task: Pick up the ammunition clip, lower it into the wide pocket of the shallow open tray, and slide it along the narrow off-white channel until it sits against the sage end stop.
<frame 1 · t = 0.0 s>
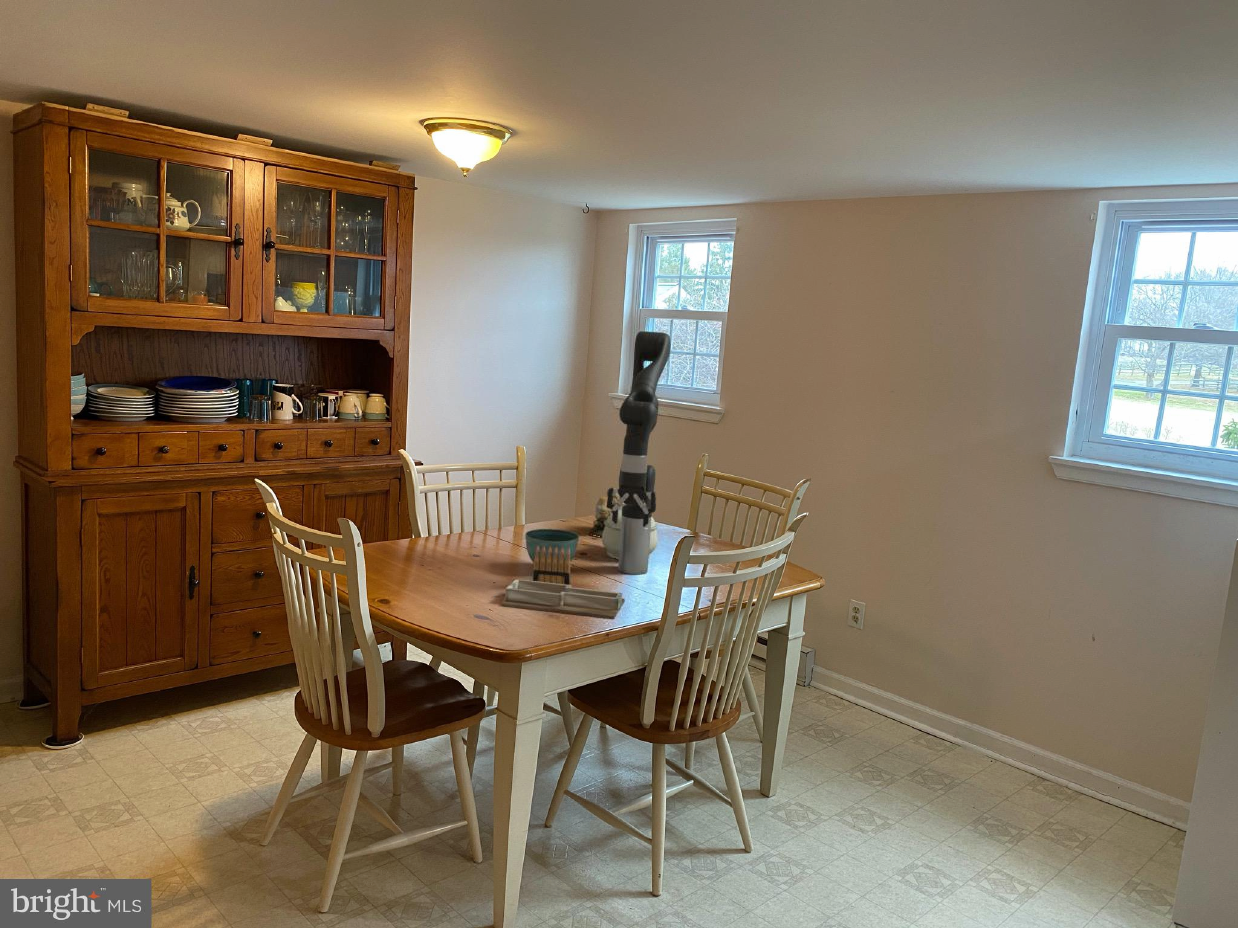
hand: (629, 524, 269), 17 cm above the table, tool pointing down, fingers open, 8 cm apart
shallow open tray: (564, 603, 246), on the table
flower pot: (550, 570, 279), on the table
kettle: (626, 555, 304), on the table
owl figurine: (607, 533, 334), on the table
ammunition clip: (550, 588, 260), on the table
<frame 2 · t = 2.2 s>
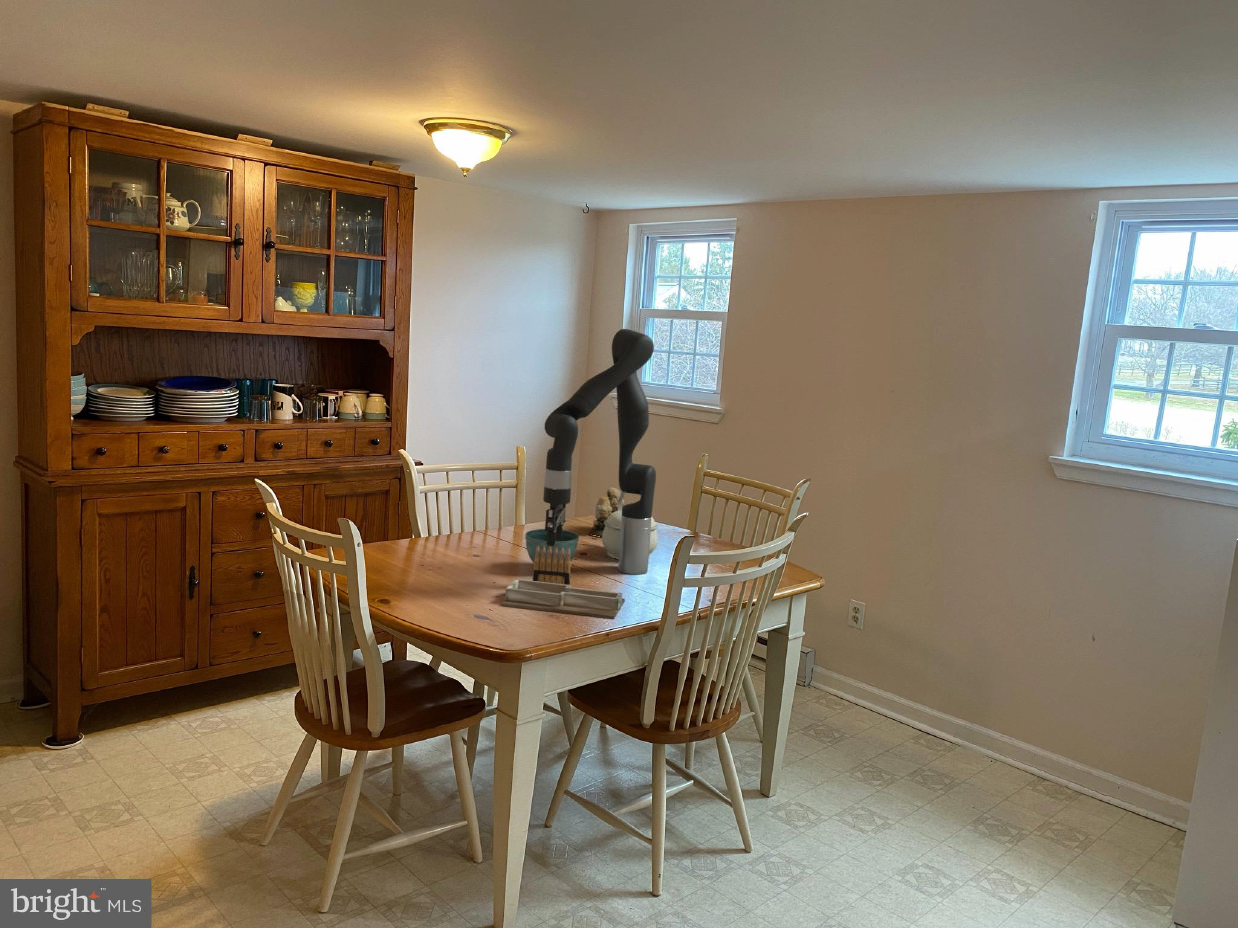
hand: (554, 542, 258), 13 cm above the table, tool pointing down, fingers open, 8 cm apart
nothing on the table moved.
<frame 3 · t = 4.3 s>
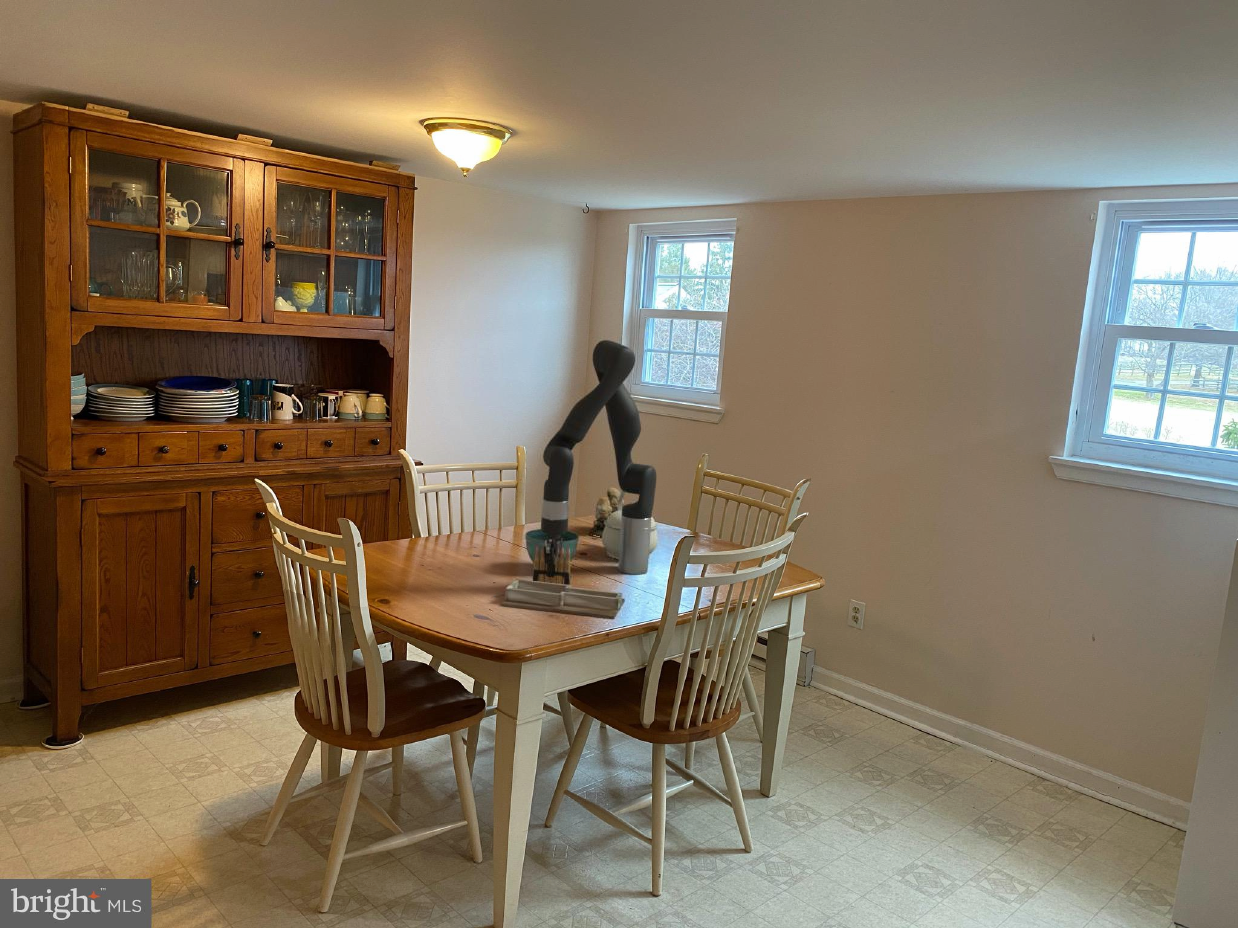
hand: (551, 575, 260), 4 cm above the table, tool pointing down, fingers closed on ammunition clip, 2 cm apart
ammunition clip: (550, 588, 260), on the table, touching gripper
everything else where it was.
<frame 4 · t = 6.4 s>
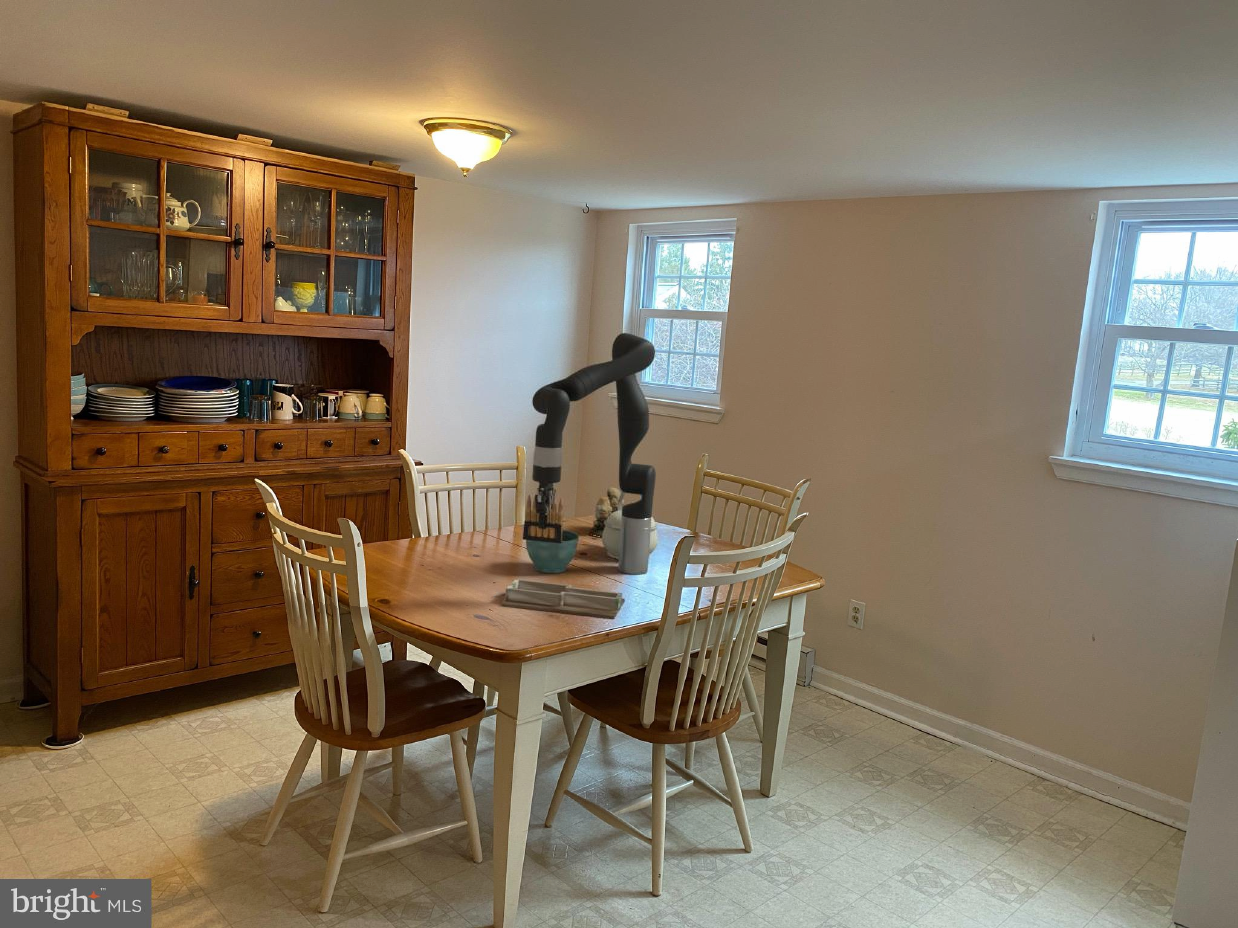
hand: (543, 527, 246), 20 cm above the table, tool pointing down, fingers closed on ammunition clip
ammunition clip: (542, 541, 246), point 16 cm above the table, touching gripper
everything else where it was.
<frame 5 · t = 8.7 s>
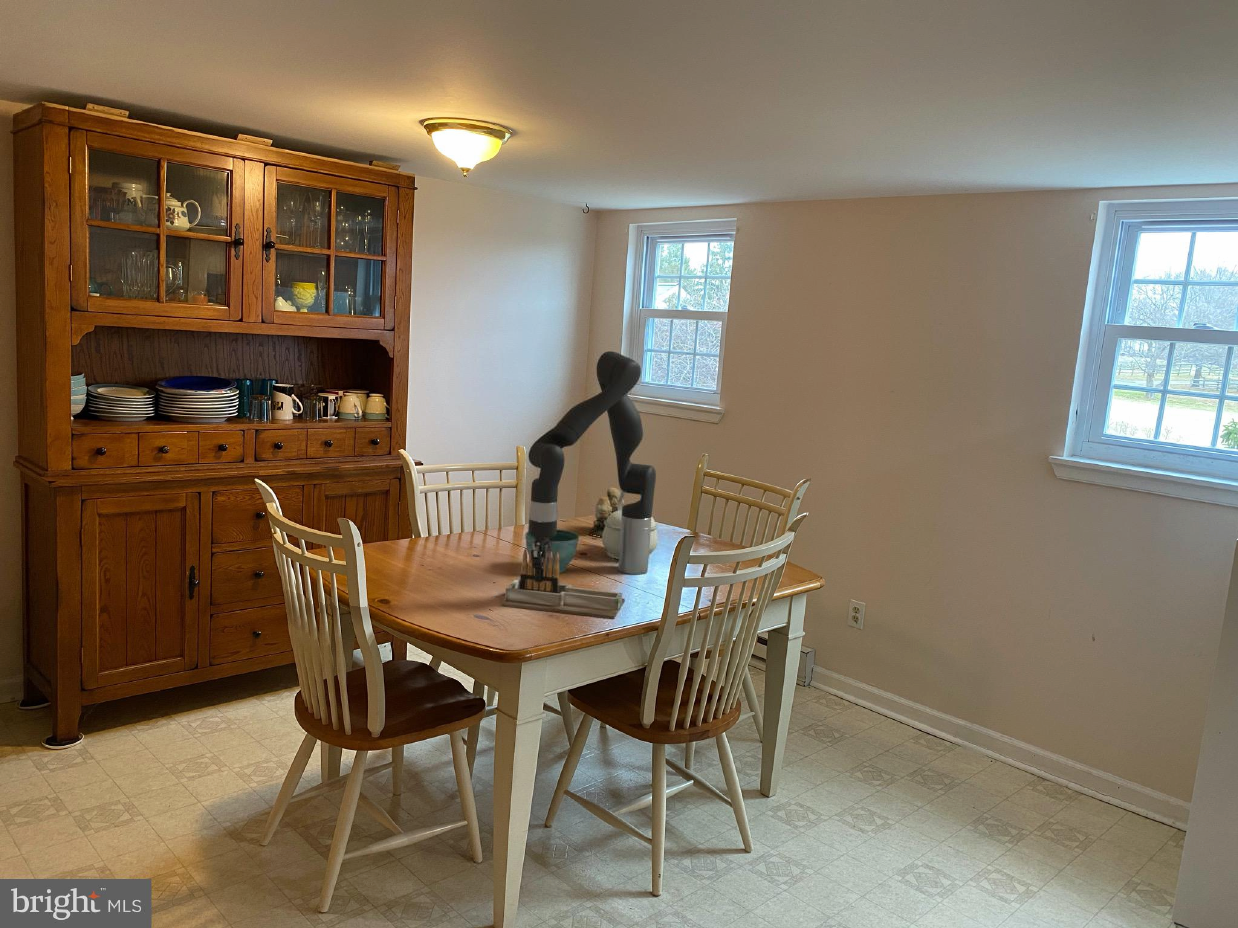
hand: (539, 580, 247), 6 cm above the table, tool pointing down, fingers closed on ammunition clip, 2 cm apart
ammunition clip: (539, 594, 247), point 2 cm above the table, touching gripper
everything else where it was.
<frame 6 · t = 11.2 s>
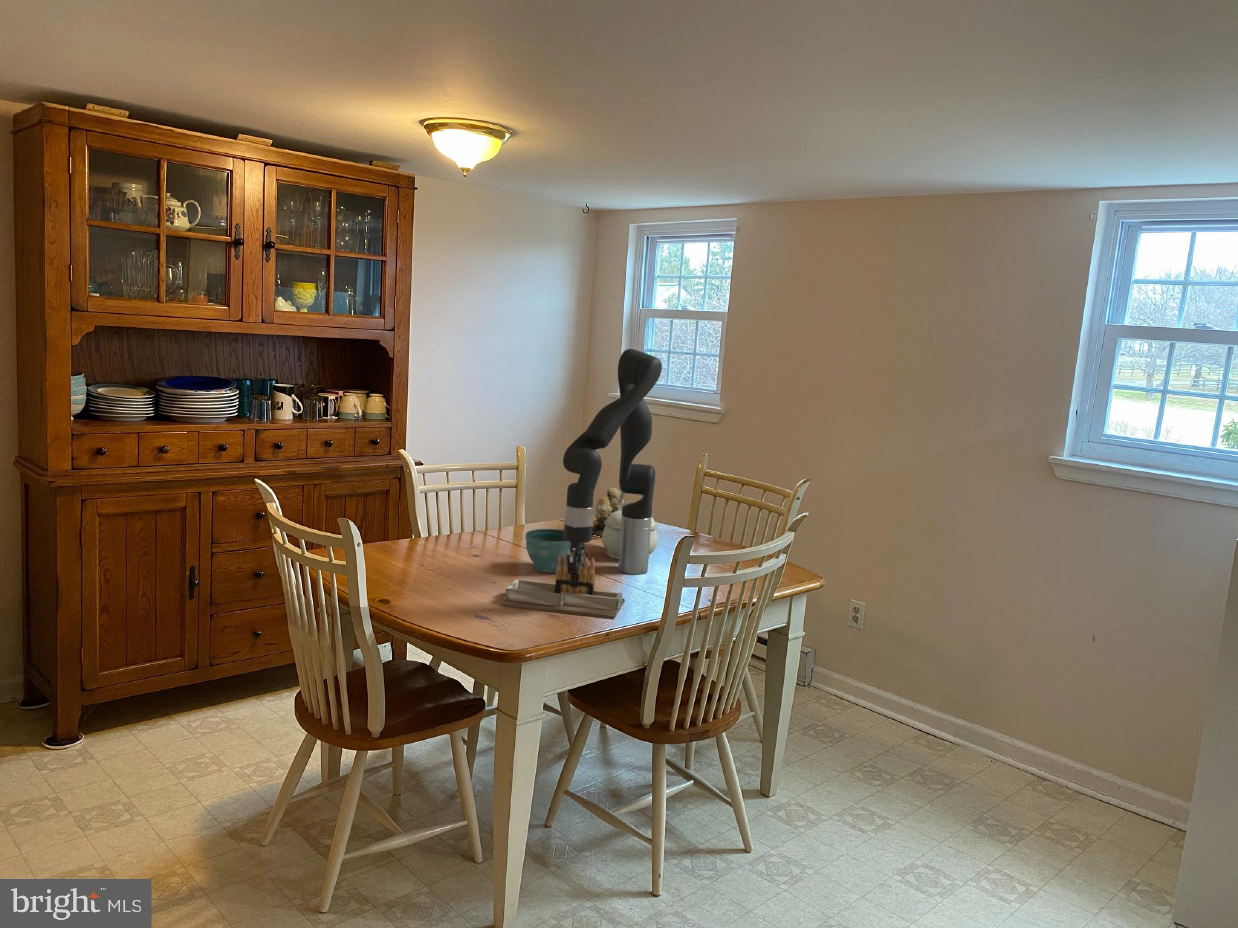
hand: (575, 585, 245), 5 cm above the table, tool pointing down, fingers closed on ammunition clip, 2 cm apart
ammunition clip: (574, 599, 246), point 1 cm above the table, touching gripper
everything else where it was.
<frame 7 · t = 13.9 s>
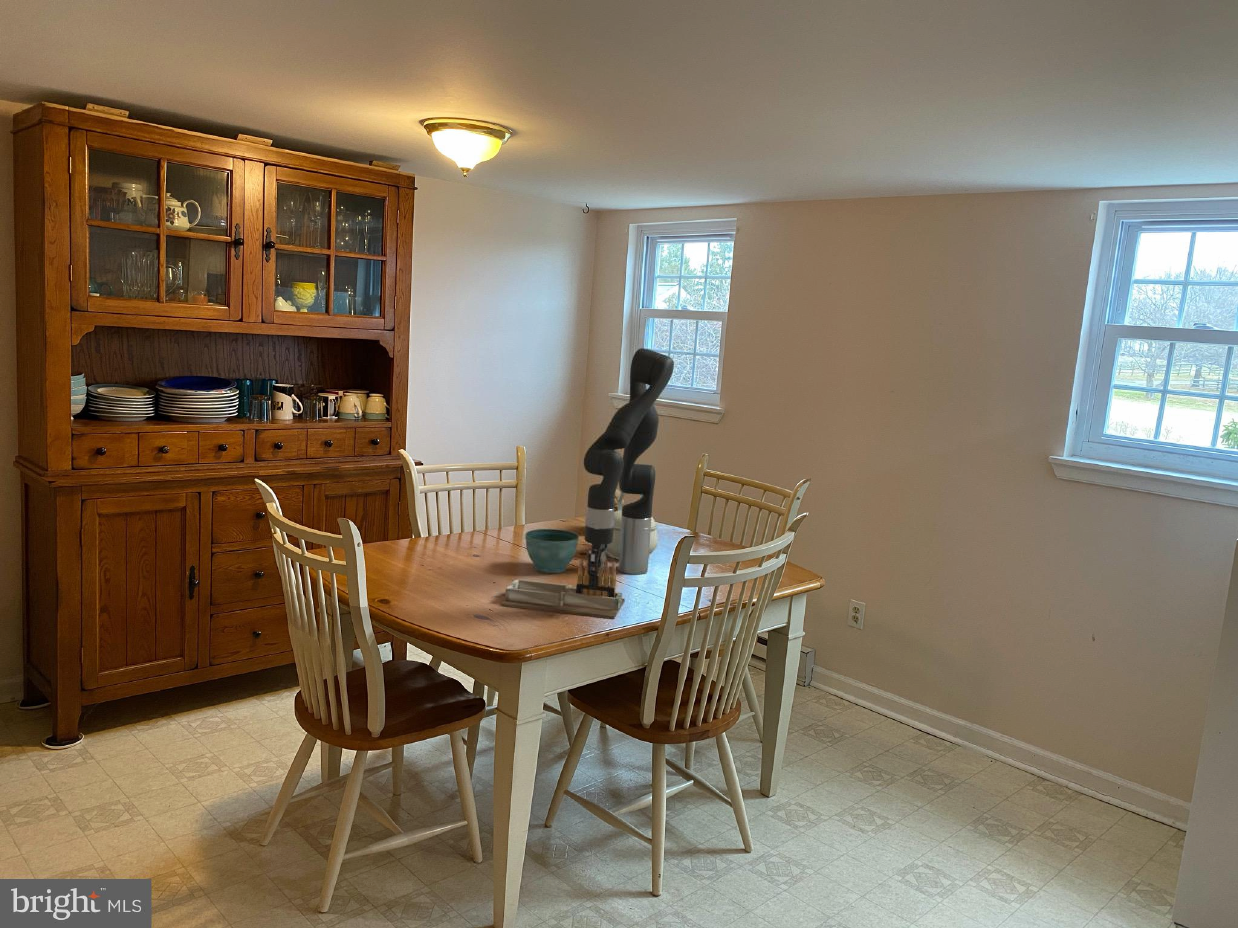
hand: (595, 585, 244), 6 cm above the table, tool pointing down, fingers open, 5 cm apart
ammunition clip: (594, 604, 245), point 1 cm above the table, touching shallow open tray
everything else where it was.
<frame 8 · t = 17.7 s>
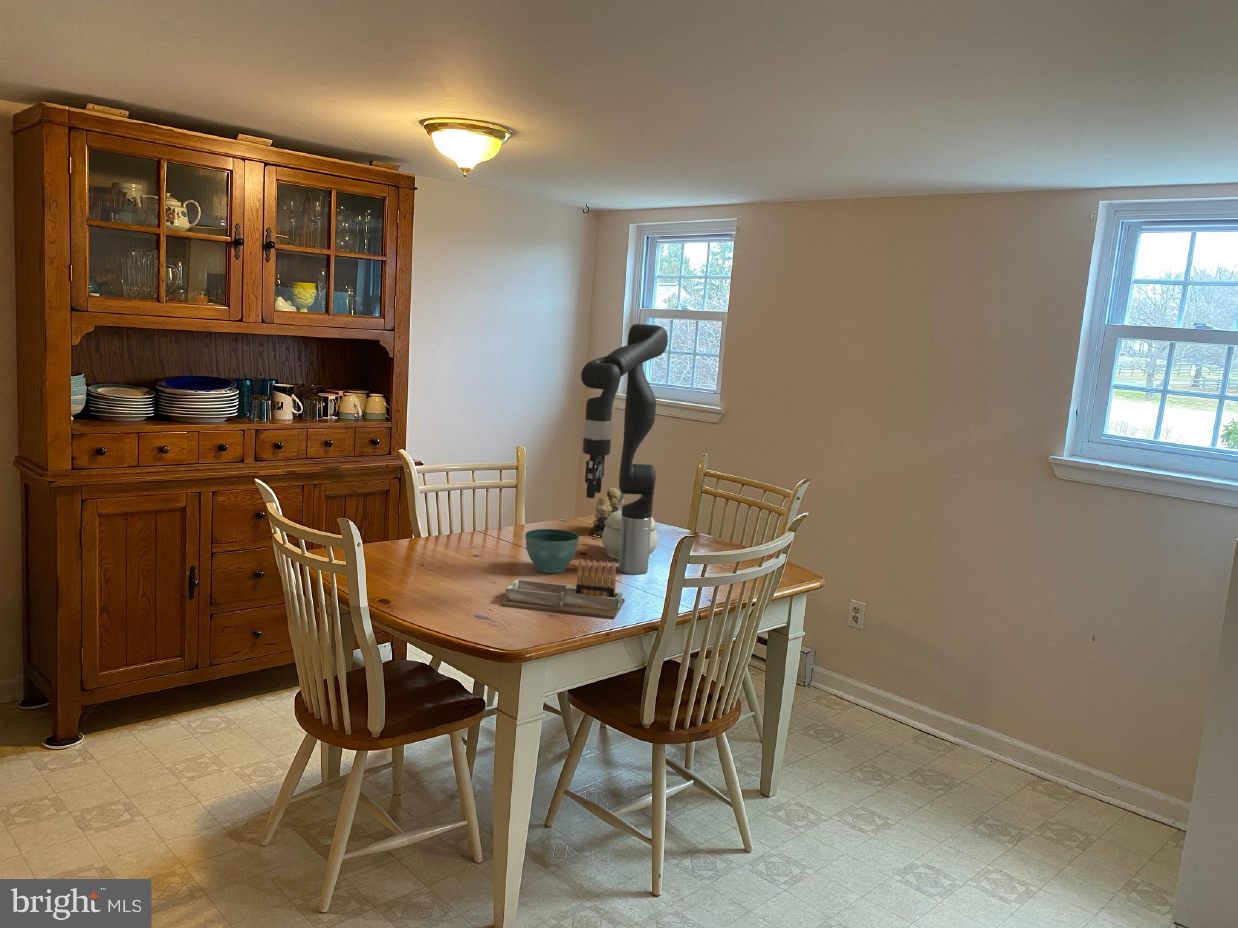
hand: (593, 495, 252), 28 cm above the table, tool pointing down, fingers open, 8 cm apart
nothing on the table moved.
at the end: ammunition clip 0.6 cm from the target spot on the shallow open tray, point 0.6 cm above the shallow open tray's base; ammunition clip tilted 0°; the gripper is holding nothing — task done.
